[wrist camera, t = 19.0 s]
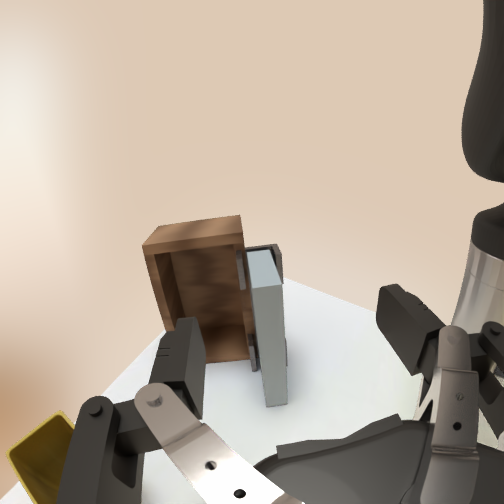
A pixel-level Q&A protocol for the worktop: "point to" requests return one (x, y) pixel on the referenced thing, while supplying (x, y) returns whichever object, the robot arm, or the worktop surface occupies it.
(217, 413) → the worktop surface
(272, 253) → the hinge clips
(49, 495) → the flower pot
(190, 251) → the cabinet
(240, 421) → the worktop surface
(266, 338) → the door
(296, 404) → the worktop surface
